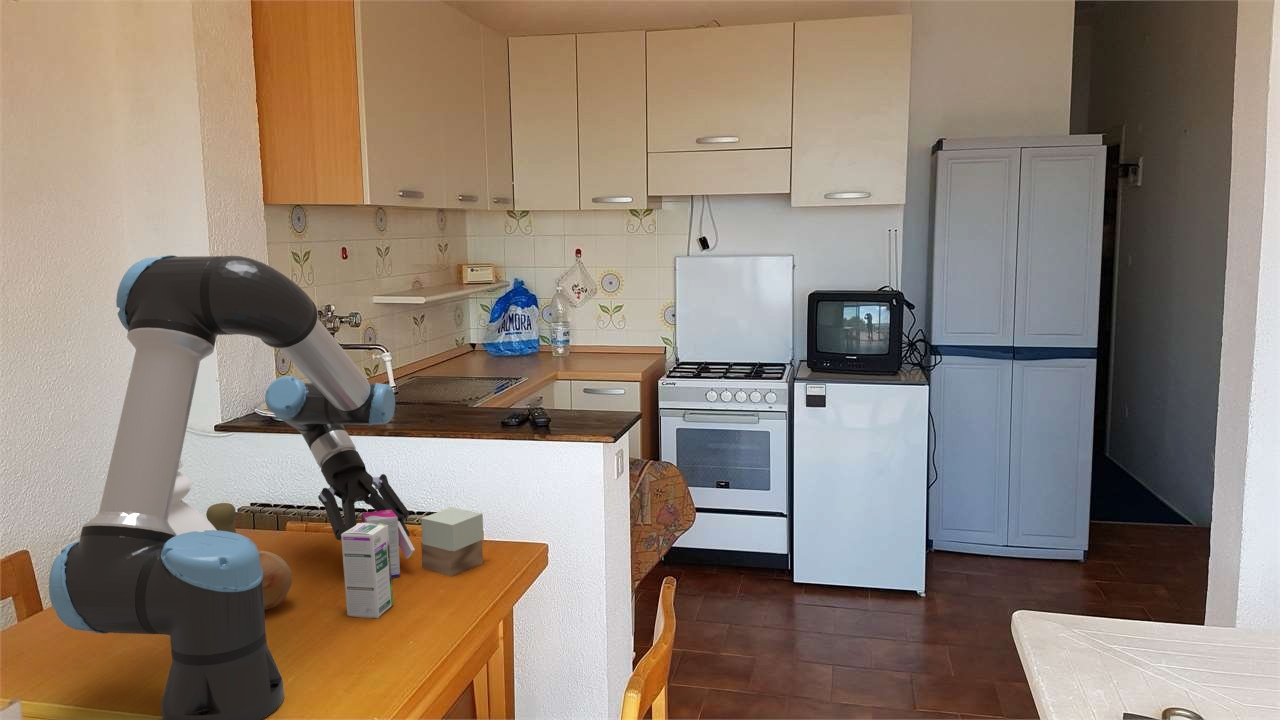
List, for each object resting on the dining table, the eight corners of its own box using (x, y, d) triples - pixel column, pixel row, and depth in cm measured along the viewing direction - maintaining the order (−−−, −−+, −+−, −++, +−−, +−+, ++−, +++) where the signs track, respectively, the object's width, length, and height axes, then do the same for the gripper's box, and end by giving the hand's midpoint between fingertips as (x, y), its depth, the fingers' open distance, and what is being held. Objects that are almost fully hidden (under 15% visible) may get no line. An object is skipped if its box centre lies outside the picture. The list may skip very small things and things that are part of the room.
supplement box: (401, 576, 177) (398, 516, 175) (368, 582, 174) (364, 521, 173) (395, 566, 182) (391, 508, 180) (363, 572, 179) (359, 512, 178)
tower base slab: (450, 577, 177) (449, 551, 176) (422, 568, 182) (421, 542, 181) (483, 564, 183) (482, 539, 182) (454, 556, 188) (453, 531, 187)
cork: (207, 556, 189) (203, 502, 187) (240, 551, 191) (236, 498, 190) (208, 566, 183) (203, 510, 182) (242, 561, 186) (238, 506, 184)
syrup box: (378, 619, 158) (373, 533, 156) (345, 616, 159) (340, 532, 157) (394, 605, 164) (389, 523, 162) (362, 603, 165) (357, 521, 163)
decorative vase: (229, 581, 176) (219, 447, 172) (224, 618, 159) (212, 471, 155) (120, 595, 170) (107, 457, 166) (102, 635, 153) (87, 483, 149)
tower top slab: (453, 551, 176) (452, 525, 175) (422, 544, 180) (421, 518, 179) (483, 539, 182) (482, 513, 182) (452, 532, 187) (451, 507, 186)
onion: (306, 603, 165) (302, 547, 163) (256, 624, 156) (252, 565, 155) (270, 593, 170) (266, 538, 168) (219, 612, 162) (215, 555, 160)
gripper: (377, 460, 193) (429, 555, 185) (283, 482, 178) (335, 586, 170) (391, 438, 189) (445, 535, 181) (295, 458, 174) (350, 564, 166)
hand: (392, 559), depth 175 cm, fingers closed on supplement box, 7 cm apart
